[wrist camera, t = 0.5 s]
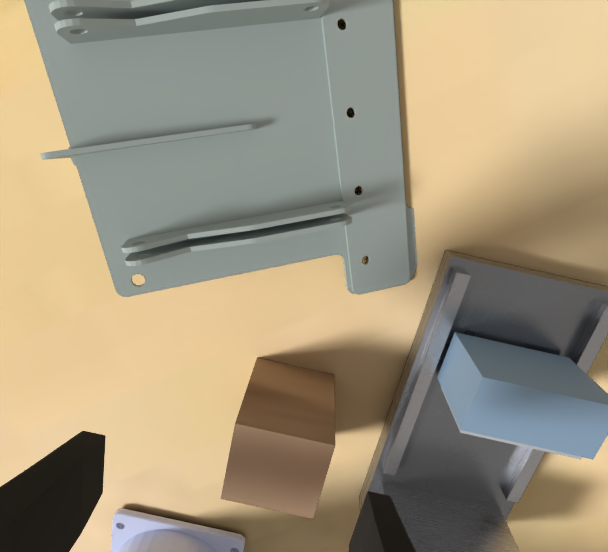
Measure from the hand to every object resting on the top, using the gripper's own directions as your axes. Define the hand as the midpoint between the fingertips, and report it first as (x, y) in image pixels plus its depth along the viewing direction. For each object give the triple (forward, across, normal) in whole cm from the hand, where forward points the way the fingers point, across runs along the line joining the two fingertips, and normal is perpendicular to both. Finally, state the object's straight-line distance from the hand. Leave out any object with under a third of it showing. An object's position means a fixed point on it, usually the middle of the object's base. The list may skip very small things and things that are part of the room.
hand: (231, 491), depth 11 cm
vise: (+9, -10, +2) cm, 14 cm away
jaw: (+8, -10, -1) cm, 13 cm away
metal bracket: (+10, +3, -9) cm, 14 cm away
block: (+10, -1, +4) cm, 10 cm away
